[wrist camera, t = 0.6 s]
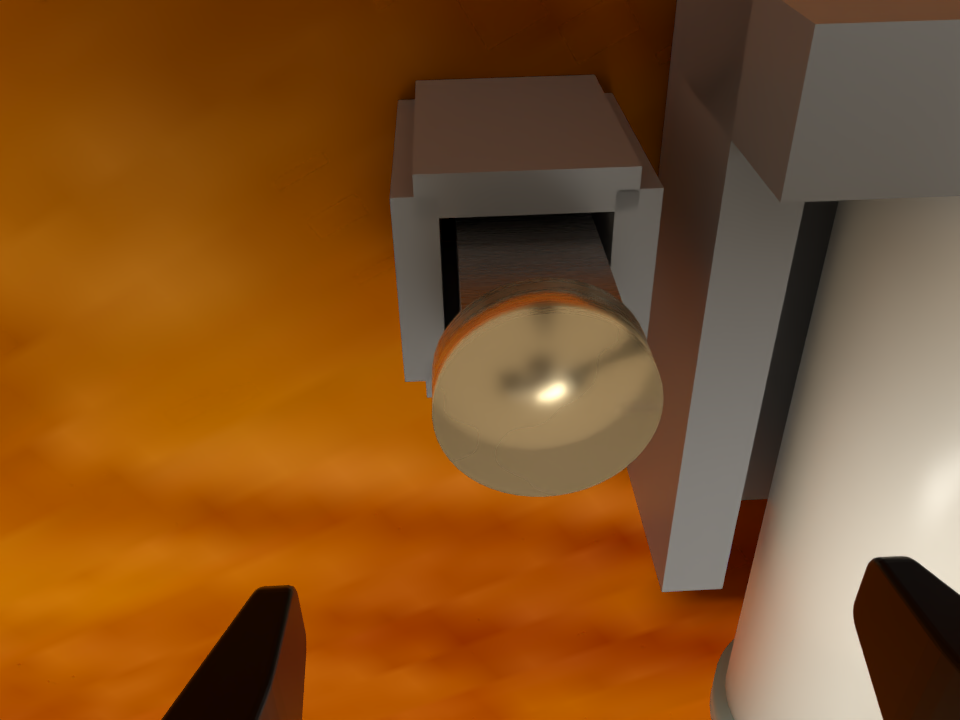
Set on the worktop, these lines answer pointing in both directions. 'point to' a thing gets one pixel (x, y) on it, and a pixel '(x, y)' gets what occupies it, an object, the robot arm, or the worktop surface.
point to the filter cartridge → (855, 463)
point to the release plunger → (541, 360)
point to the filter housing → (694, 216)
